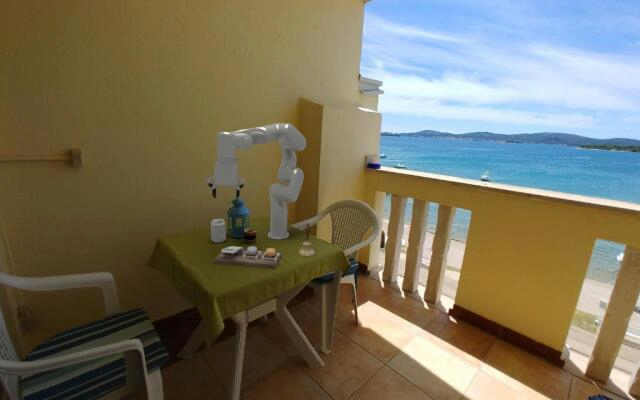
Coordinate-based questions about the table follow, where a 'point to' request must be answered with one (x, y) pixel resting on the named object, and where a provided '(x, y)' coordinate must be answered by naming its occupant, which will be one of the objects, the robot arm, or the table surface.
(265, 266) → the panel
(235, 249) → the rocker
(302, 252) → the hand bell
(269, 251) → the orange button
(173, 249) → the table surface
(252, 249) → the grey button
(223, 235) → the can
